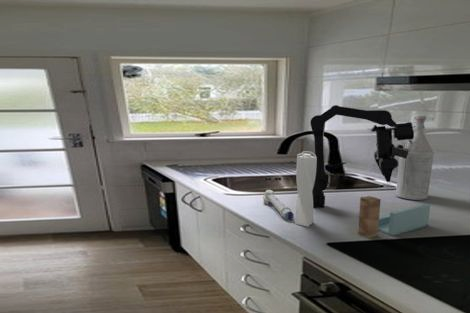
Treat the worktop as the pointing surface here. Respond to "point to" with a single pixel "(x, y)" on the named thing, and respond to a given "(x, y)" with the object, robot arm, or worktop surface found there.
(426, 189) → the white bottle
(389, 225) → the backboard channel
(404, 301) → the worktop surface
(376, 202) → the walnut box
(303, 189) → the skyscraper
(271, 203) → the syringe
